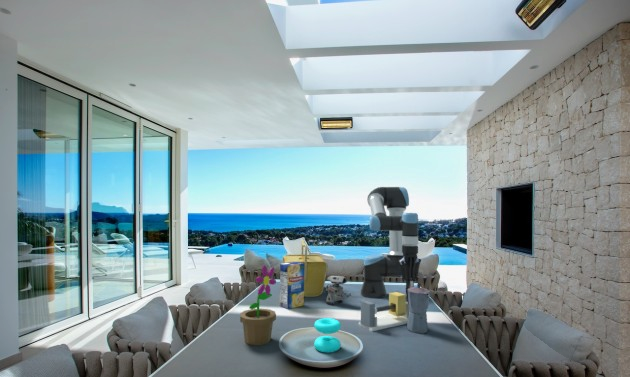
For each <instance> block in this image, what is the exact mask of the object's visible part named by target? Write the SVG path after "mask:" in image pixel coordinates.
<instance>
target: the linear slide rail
mask: <svg viewBox="0 0 630 377" xmlns="http://www.w3.org/2000/svg"><path fill="white" fill-rule="evenodd" d="M391 309H396V304H393V305H389V304H388V305H387V304H386V305H383V306H377V307H376V303H374V302H372V301H370V300H367V299H365V300H361V301H360V321H359V322H358V326H360V327H362V328H364V329H365V330H368V331H371V332H375V331H380V330H385V329H389V328H394V327H397V326H401V325H407V324H408V318H409V311H410V307H409V305H408V301H406V315H404V316H399V317H397V316H394V315H392V314H391V315H389V316H388V315H387V316H383V317H379V318H378V317H377V316H376V314H377V313H380V312H386V311H389V310H391Z"/></svg>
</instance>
